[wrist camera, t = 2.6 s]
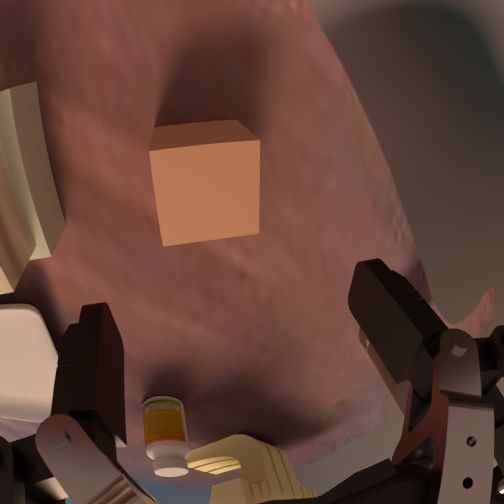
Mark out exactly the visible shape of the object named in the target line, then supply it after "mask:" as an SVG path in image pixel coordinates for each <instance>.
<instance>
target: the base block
mask: <svg viewBox="0 0 504 504" xmlns="http://www.w3.org/2000/svg"><path fill="white" fill-rule="evenodd" d="M0 138H1V142H2V146H3V150H4V154H5V157H6V161H7V165H8V168H9V172H10V175H11V178H12V182H13V185H14V188H15V191H16V194H17V197H18V200H19V203H20V206H21V209H22V211H23V214H24V217H25V220H26V222H27V225H28V227H29V230H30V233H31V235H32V238H33V240H34V242H35V245H36V248H35V250H34V251H33V253H32V255H31V257H30V259H29V260H34V259H40V258H46V257H52V254H53V252H54V250H55V248H56V245H57V243H58V241H59V239H60V237H61V235H62V233H63V231H64V228H65V226H66V224H65V220H64V217H63V213H62V210H61V206H60V203H59V199H58V195H57V191H56V188H55V184H54V179H53V175H52V171H51V167H50V162H49V157H48V153H47V148H46V142H45V137H44V132H43V126H42V120H41V113H40V106H39V99H38V91H37V82H32V83H27V84H23V85H20V86H16V87H12V88H9V89H6V90H4V91H1V92H0Z"/></svg>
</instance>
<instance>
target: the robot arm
mask: <svg viewBox="0 0 504 504" xmlns="http://www.w3.org/2000/svg"><path fill="white" fill-rule="evenodd" d="M421 297H422V296H421V295H420V294H419V293H418V292H417V290H414V287H413V286H412V285H411V284H410V282H409V281H408V280H407V279H406V278H405V277H403V276H402V275H400V274H398V273H397V272H395V271H394V270H390V269H389V268H388V267H387V265H386V264H385V263H384V262H383V261H382V260H381V259H379V258H376V259H371V260H366V261H361V262H358V263H357V264H356V266H355V270H354V274H353V279H352V283H351V287H350V291H349V295H348V305H349V309H350V311H351V313H352V315H353V316H354V318H355V319H356V321H357V322H358V324H359V325H360V327H361V331H360V335H359V337H360V341H361V343H362V345H363V347H364V348H365V350H366V352H367V353H368V355H369V356H370V358H371V360H372V362H373V363H374V365H375V367H376V369H377V370H378V372H379V374H380V375H381V377H382V379H383V380H384V382H385V384H386V385H387V387H388V389H389V391H390V392H391V394H392V396H393V398H394V399H395V401H396V403H397V404H398V406H399V408H400V410H401V411H402V413H403V415H404V416H405V418H404V424H403V430H402V435H401V439H400V441H399V443H398V445H397V447H396V449H395V451H394V454H393V457H392V461H390V459H389V458H388V459H386V460H384V461H382V462H379V463H377V464H375V465H373V466H370V467H368V468H366V469H363V470H361V471H359V472H356V473H354V474H353V475H351V476H350V477H349V478H347V479H346V480H344V481H343V482H341V483H340V484H338V485H337V486H335V487H334V488H332V489H331V490H329V491H328V492H326V493H325V494H323V495H321V496H319V497H314V498H301V499H285V500H270V501H266V502H262V503H258V504H504V397H503V396H502V394H501V392H500V391H499V389H498V388H497V386H496V384H497V382H498V381H499V380H500V379H501V378H502V377H504V325H501V326H497V327H496V328H495V329H494V330H493V332H492V333H491V335H490V336H489V337H487V338H475V339H473V338H472V337H471V336H470V335H469V334H468V333H467V332H465V331H463V330H460V329H456V328H451V329H448V327H447V326H446V325H445V324H444V323H443V321H442V320H441V319H440V318H439V316H438V315H437V314H436V313H435V312H434V310H433V309H432V308H431V307H430V306H429V305H428V303H427V302H426V301H425V300H424V299H423V297H422V298H421ZM59 353H60V355H59V356H58V362H57V365H58V367H57V368H56V374H55V381H54V389H53V397H52V406H51V413H50V416H49V417H48V418H46V419H45V420H44V421H43V422H42V423H41V424H40V425H39V427H38V429H37V432H36V434H34V435H32V436H29V437H26V438H23V439H19V440H16V441H13V442H8V441H7V440H6V439H5V438H3V437H2V436H0V504H65V498H67V497H69V498H70V499H71V500H72V502H73V503H74V504H160V503H159V502H158V501H157V500H155V499H154V498H153V497H152V496H151V495H150V494H149V493H148V492H147V491H146V490H145V489H144V488H143V487H142V486H141V485H140V484H139V483H138V482H137V481H136V480H135V479H134V478H133V477H132V476H131V475H130V474H129V473H128V472H127V471H126V470H125V469H124V468H123V466H122V465H121V464H120V463H119V462H118V461H117V455H116V447H127V439H126V423H125V398H124V347H123V342H122V338H121V335H120V333H119V330H118V328H117V326H116V323H115V321H114V318H113V316H112V313H111V311H110V308H109V306H108V304H107V303H106V302H104V303H96V304H89V305H83V306H82V308H81V313H80V318H79V323H76V324H70V325H69V327H68V328H67V330H66V332H65V333H64V335H63V336H62V339H61V344H60V350H59ZM494 457H495V459H496V461H497V463H498V465H497V466H496V467H495V468H493V461H494Z"/></svg>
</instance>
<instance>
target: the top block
mask: <svg viewBox="0 0 504 504" xmlns="http://www.w3.org/2000/svg"><path fill="white" fill-rule="evenodd" d="M35 248H36V245H35V242H34V240H33V238H32V235H31V233H30V230H29V227H28V225H27V222H26V220H25V217H24V214H23V211H22V209H21V206H20V203H19V200H18V197H17V194H16V191H15V188H14V185H13V182H12V178H11V175H10V172H9V168H8V165H7V161H6V157H5V154H4V150H3V146H2V142H1V138H0V294H5V293H11V292H14V291H15V289H16V286H17V284H18V282H19V280H20V278H21V276H22V274H23V271H24V269H25V267H26V265H27V263H28V261H29V259H30V257H31V255H32V253H33V251H34V250H35Z"/></svg>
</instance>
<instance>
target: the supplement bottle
mask: <svg viewBox="0 0 504 504" xmlns="http://www.w3.org/2000/svg"><path fill="white" fill-rule="evenodd" d="M142 410H143V423H144V435H145V447H146V453H147V455H148V456H149V457H150V458H151V459H153V460H155V461H154V462H153V467H154V473H155V474H156V475H159V476H165V477H174V476H181V475H184V474H186V473H188V464H187V461H186V460H185V458H186V457H188V456H189V454H190V443H189V437H188V431H187V425H186V419H185V412H184V407H183V403H182V402H181V401H180V400H179V399H177V398H174V397H170V396H155V397H152V398H149V399H147V400H146V401H145V402H144V403H143V406H142Z"/></svg>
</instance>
